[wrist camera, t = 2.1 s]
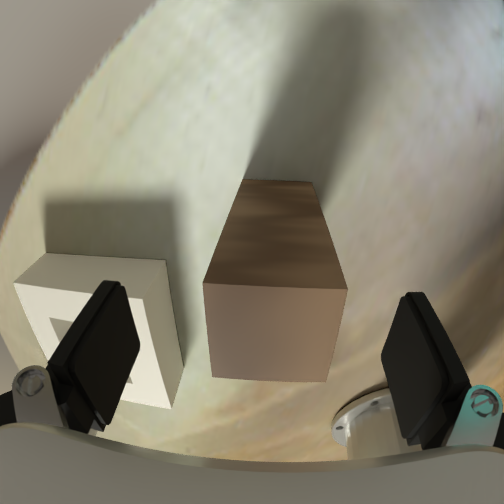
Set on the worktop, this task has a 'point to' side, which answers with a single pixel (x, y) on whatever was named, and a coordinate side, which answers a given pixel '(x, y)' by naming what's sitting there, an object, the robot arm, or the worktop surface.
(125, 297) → the robot arm
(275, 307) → the peg
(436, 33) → the worktop surface
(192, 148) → the worktop surface
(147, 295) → the socket block
